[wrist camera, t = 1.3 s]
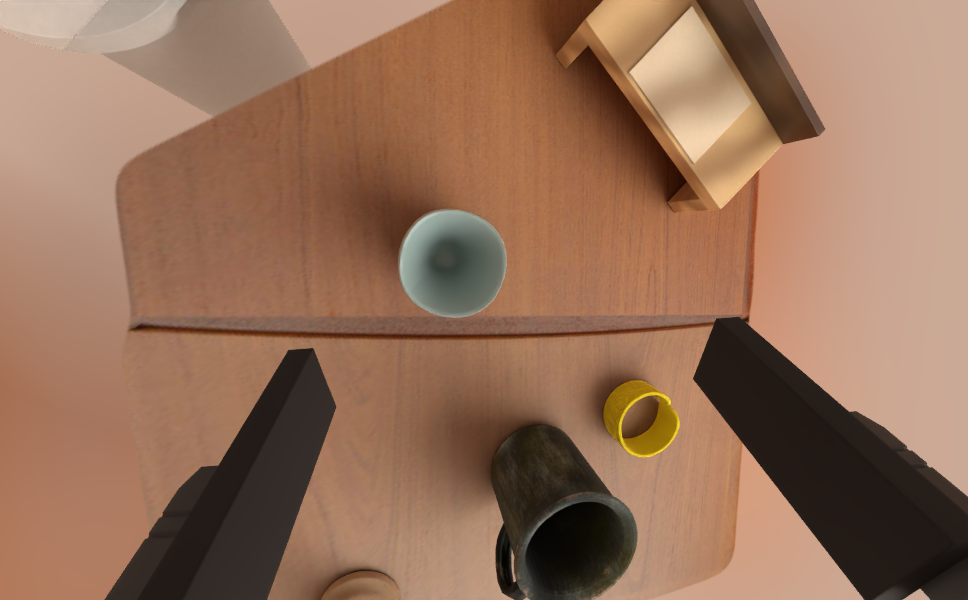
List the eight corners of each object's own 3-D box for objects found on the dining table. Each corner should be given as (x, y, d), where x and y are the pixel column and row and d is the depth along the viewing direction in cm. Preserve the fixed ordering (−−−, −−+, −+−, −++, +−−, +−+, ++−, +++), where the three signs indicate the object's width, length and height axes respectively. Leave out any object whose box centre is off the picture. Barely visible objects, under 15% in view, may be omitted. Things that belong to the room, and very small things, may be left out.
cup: (470, 302, 36) (491, 329, 26) (393, 283, 34) (385, 305, 24) (491, 226, 35) (521, 225, 25) (412, 203, 33) (412, 192, 23)
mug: (594, 443, 42) (662, 525, 30) (523, 539, 43) (564, 654, 31) (524, 401, 39) (570, 474, 28) (449, 505, 40) (464, 618, 28)
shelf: (554, 56, 33) (605, -7, 24) (621, -16, 33) (697, -104, 24) (674, 212, 38) (751, 208, 30) (732, 151, 38) (825, 129, 29)
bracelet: (620, 452, 43) (637, 470, 40) (591, 404, 41) (606, 419, 38) (669, 417, 43) (689, 432, 40) (642, 368, 41) (661, 380, 38)
